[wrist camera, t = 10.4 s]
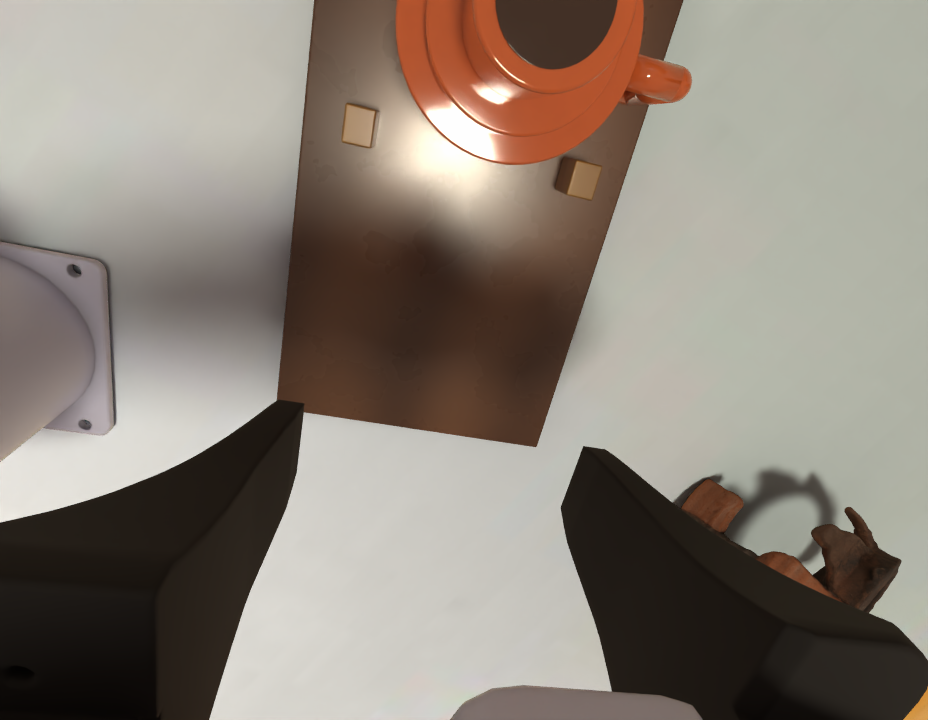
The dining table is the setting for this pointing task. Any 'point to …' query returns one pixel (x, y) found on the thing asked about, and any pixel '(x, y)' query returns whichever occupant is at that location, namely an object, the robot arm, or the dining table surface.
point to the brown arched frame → (845, 554)
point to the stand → (436, 246)
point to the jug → (527, 71)
